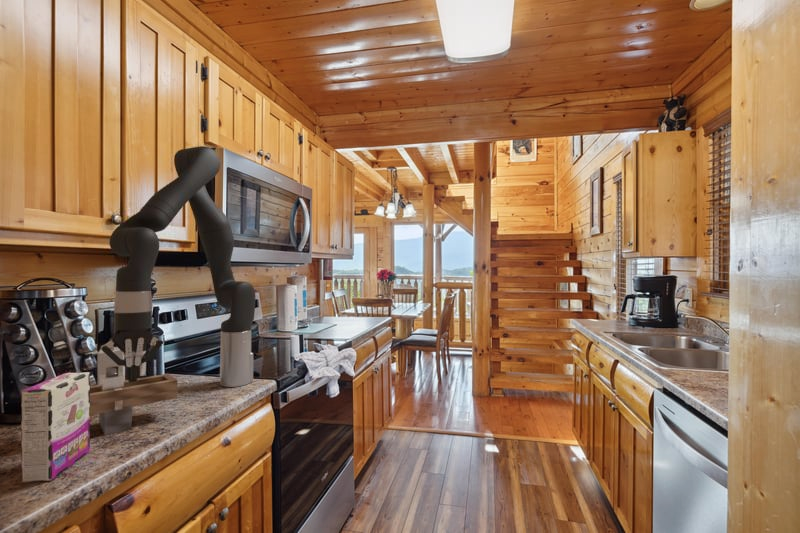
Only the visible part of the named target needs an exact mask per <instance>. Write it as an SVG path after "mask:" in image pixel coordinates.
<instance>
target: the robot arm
mask: <svg viewBox="0 0 800 533" xmlns="http://www.w3.org/2000/svg"><path fill="white" fill-rule="evenodd" d="M173 163H174V167H175V168H174V169H175V171H176V172H175V173H176V174H177V178H175V179H173V180H172V181H170V182H169V183H167V184H166V185H165V186H163V187H161V188H160V189H158V190H157V191H156V192H155V193H153V195H152V196H151V197H150V198H149V199H148V200H147V201H146V203H145V204H144V205H143V206H142V207H141V209H139V211H137V212H136V213H135V214H133V215H132V216H130V217H129V218H127V219H126V220H125V221H123V222H122V223H121V224H119V225H118V226H117V227H116V228H115V229H114V230H113V231H112V233H111V235H110V238H109V243H108V244H109V247H110V249H111V251H112V252H113V253H114V254H115V255H118V256H121V257H130V258H129V260H128V263H127V265H126V266H122V267H119V268H118V269H117V271H116V276H115V296H114V306H113V307H114V310H113V311H114V312H113V315H114V316H113V333H112V336H111V337H110V340H108V342H107V343H105V344H102V345H101V346H100V349H101V350H102V351H103V352H104V353H105V354H106V355H108V356H109V357H110V358H111V359H112V360H113V361H114V362H115V363H116V364H117V365H119V366H125V381H126V380H128V381H129V382H135V381H137V379H138V378H141V365H143V364H144V363H147V362H148V363H149V361H150V360H151V359H152V358H153V356H154V355H155V354H156V353H157V352H158V350H159V349H160V348H161V347H162V345H163V344H164V340H162V339H160V338H157V337H156V336H154V334H155V333H154V332H153V327H152V325H153V323H152V322H153V316H152V315H153V298H152V297H153V296H152V275H153V274H152V273H153V271H154V269H155V264H156V262H157V258H158V254H159V252H160V241H159V240H160V239H159V237H158V235H157V233H158V232H161V231H165V230H166V229H167V228H168V226H169V225H170V224H171V222H172V221H174V219H175V217H176V215H178V213H179V212H180V211H181V209H182V208H183V207H184V206H185V205H186V203H189V206H190V209H191V212H192V215H193V218H194V220H195V223H196V228H197V231H198V234H199V238H200V242H201V244H202V247H203V250H204V253H205V257H206V261H207V264H208V267H209V271H210V275H211V280H212V285H213V291H214V295H215V299H216V301H217V303H218V304H219V306H220V307H222V308H223V309H228V310H230V315H229V317H228V319H226V320H224V321H222V322H221V323H220V324H221V325H220V350H219V351H220V353H219V354H220V355H219V359H220V360H219V361H220V362H219V364H220V365H219V366H220V367H219V385H220V386H222V387H225V388H234V387H235V388H236V387H242V386H245V385H248V384H250V383H253V382H254V352H252V328H253V327H252V326H253V322H254V320H255V309H256V290H255V288H254V285H252V283H250V282H248V281H241V280H237V281H236V280H235V277H234V273H233V270H232V265H231V263H232V262H231V261H232V257H233V252H234V247H235V238H234V233H233V231H232V230H233V229H232V228H231V227H232V226H231V224H230V220H229V219H228V217H227V215H226V214H225V213H224V211H222V209H221V208H220V207H219V205H217V204H216V202H214V200H213V199H212V197H210V195H209V192H208V190H207V188H206V185H207V184H208V183H209V182H210V181H211V180H213V178H215V177H216V176H217V175H218V173H219V172H220V170H221V159H220V156H219V155H218V152H217V151H215V150H214V149H213V148H211V147H209V146H203V145H199V146H193V147H189V148H188V147H187V148H181V149H179V150H177V151H176V152H175V154H174V157H173ZM114 345H115V346H114ZM148 345H150V347H148V349H147V350H146V351H145V353H144V354H143V350H145V349H146V348H147V346H148ZM114 347H118V348H119V349H120V350H121V351H122V352H123V355H124V360H123V359H120V358H119V357H118V356H117V355H116V354H115V353H114V352H113V350H114ZM100 349H99V350H100Z"/></svg>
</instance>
